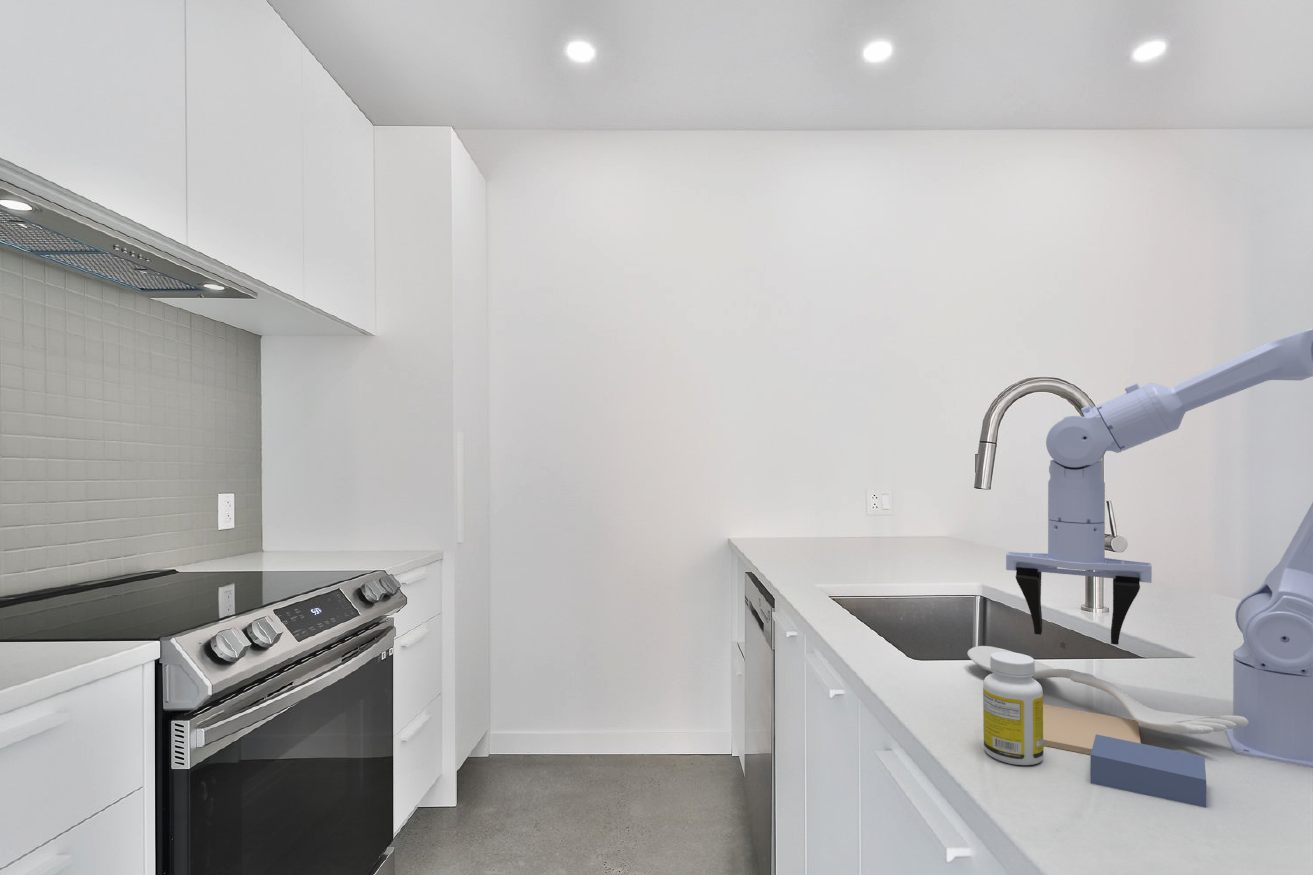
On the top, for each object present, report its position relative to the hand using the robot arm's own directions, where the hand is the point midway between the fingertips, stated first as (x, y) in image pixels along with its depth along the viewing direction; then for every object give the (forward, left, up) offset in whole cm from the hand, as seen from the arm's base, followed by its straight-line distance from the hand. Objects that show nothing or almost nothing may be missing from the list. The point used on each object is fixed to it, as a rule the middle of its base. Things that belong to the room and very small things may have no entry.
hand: (1075, 637), depth 85 cm
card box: (-6, +17, -9) cm, 20 cm away
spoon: (0, -2, -8) cm, 8 cm away
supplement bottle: (+5, +17, -9) cm, 20 cm away
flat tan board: (+1, +8, -8) cm, 11 cm away
